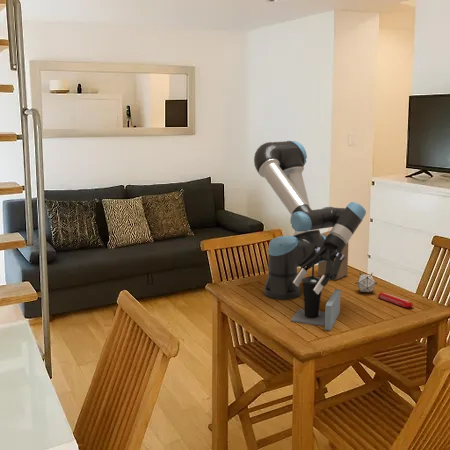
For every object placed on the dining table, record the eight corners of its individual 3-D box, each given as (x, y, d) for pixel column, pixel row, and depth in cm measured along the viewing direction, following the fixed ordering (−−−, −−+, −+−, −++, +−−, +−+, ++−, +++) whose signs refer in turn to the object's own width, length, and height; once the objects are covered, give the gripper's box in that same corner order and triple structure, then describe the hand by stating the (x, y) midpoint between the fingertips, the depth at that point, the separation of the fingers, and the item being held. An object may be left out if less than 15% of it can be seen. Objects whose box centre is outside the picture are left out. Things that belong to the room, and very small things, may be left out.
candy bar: (414, 308, 214) (415, 301, 213) (408, 310, 212) (409, 303, 212) (382, 296, 227) (382, 289, 227) (375, 298, 225) (376, 291, 225)
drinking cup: (317, 320, 200) (319, 266, 197) (297, 316, 204) (299, 263, 201) (325, 314, 207) (327, 262, 203) (305, 311, 211) (307, 259, 207)
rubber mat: (290, 321, 202) (290, 320, 202) (298, 310, 213) (298, 308, 213) (323, 326, 198) (323, 324, 198) (330, 314, 209) (330, 312, 209)
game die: (367, 299, 234) (380, 279, 235) (370, 299, 226) (383, 278, 226) (349, 287, 236) (361, 267, 236) (351, 287, 227) (364, 266, 228)
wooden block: (348, 275, 254) (349, 232, 249) (336, 281, 247) (337, 237, 242) (329, 271, 260) (330, 229, 256) (317, 276, 253) (318, 233, 249)
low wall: (324, 329, 195) (325, 305, 193) (334, 311, 211) (335, 289, 209) (330, 330, 194) (331, 306, 192) (339, 312, 211) (340, 289, 209)
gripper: (365, 251, 200) (333, 302, 194) (320, 239, 218) (289, 285, 212) (356, 239, 196) (322, 291, 190) (311, 227, 214) (279, 275, 208)
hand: (305, 288), depth 201 cm, fingers open, 10 cm apart
